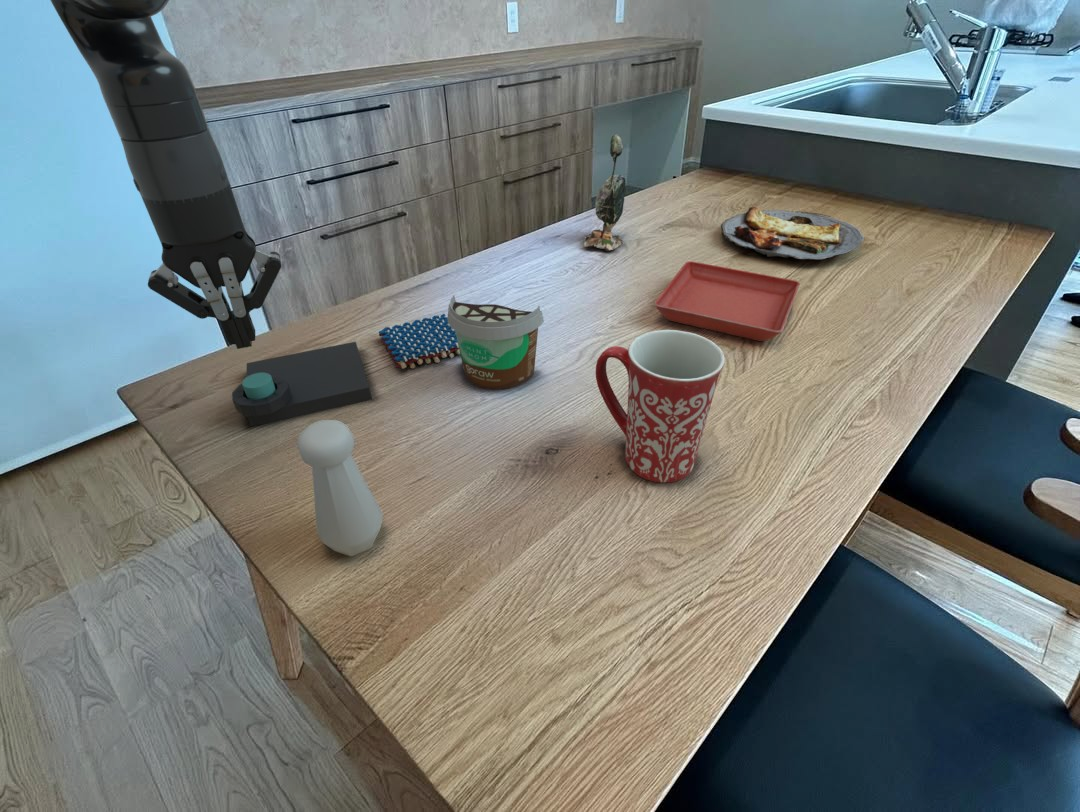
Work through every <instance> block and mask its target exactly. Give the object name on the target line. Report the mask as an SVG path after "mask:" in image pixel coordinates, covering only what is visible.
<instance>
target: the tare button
mask: <svg viewBox="0 0 1080 812" xmlns="http://www.w3.org/2000/svg"><path fill="white" fill-rule="evenodd" d="M241 384H242V386H243V388H244V391H245V393H246V396H247V398H249V399H254V400H257V399H262V398H266V397H268V396H270V395H272V394H273V393H274V392H275V386H274V383H273V380H272V377H271V375H270V374H268V373H256V374H252V375H250V376H248V377H247V376H246V377H244V379H243V380H242V382H241Z"/></svg>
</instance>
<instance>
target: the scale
mask: <svg viewBox="0 0 1080 812" xmlns="http://www.w3.org/2000/svg"><path fill="white" fill-rule="evenodd" d="M256 373H268V374H270V375H271V377H272V380H273V383H274V386H275V392H274V393H273V394H272V395H270V396H268V397H266V398H262V399H257V400H254V399H249V398H247V396H246V393H245V391H244V388H243V386H242V383H240V384H239V385H238V386H237V387H236V388H235V389H234V390H233V391H232V395H231V401H232V403H233V405H234V408H235V410H236V412H238V413H239V414H241V415H242V416H244V417H247V419H248V422H249V425H250V427H257V426H261V425H265V424H271V423H275V422H280V421H284V420H288V419H292V418H296V417H301V416H306V415H310V414H315V413H318V412H319V413H320V412H322V411H327V410H332V409H336V408H340V407H345V406H348V405H353V404H358V403H362V402H366V401H371V400H372V399H373V398H372V397H373V396H372V393H371V388H370V384H369V381H368V377H367V375H366V374H367V373H366V371H365V368H364V365H363V361H362V357H361V354H360V350H359V347H358V344H357V342H356V341H351V342H347V343H342V344H337V345H332V346H327V347H321V348H317V349H311V350H306V351H302V352H296V353H291V354H286V355H281V356H277V357H271V358H265V359H261V360H256V361H251V362H246V377H248V376H250V375H252V374H256Z"/></svg>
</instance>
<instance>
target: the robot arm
mask: <svg viewBox="0 0 1080 812" xmlns="http://www.w3.org/2000/svg"><path fill="white" fill-rule="evenodd" d="M169 1H170V0H50V2H51V4H52V6H53V8H54V10H55V11H56V13H57V15H58V17H59V19H60V21H61V23H62V24H63V26H64V28H65V29H66V31H67V32H68V35H69V36H70V38H71V39H72V42H73V44H75V46H76V48H77V50H78V51H79V53H80V55H81V56H82V57H83V59H84V61H85V62H86V64H87V65H88V67H89V68H90V71H91V72H92V73H93V75H94V77H95V79H96V81H97V83H98V86H99V89H100V92H101V96H102V97H103V98H102V99H103V101H104V103H105V105H106V107H107V110H108V113H109V115H110V117H111V120H112V122H113V124H114V126H115V128H116V131H117V134H118V136H119V139H120V142H121V144H122V147H123V151H124V154H125V155H124V156H125V158H126V163H127V165H128V168H129V171H130V174H131V176H132V181H133V183H134V186H135V188H136V190H137V192H138V193H139V195H140V197H141V200H142V201H143V204H144V206H145V209H146V211H147V214H148V216H149V219H150V220H151V223H152V225H153V227H154V231H155V232H156V235H157V237H158V239H159V242H160V244H161V247H162V251H161V252H162V253H161V262H162V263H161V265H159V267H158V268H157V269H153V270H152V271H151V272H150V275H149V276H148V280H147V286H148V288H149V290H152V291H153V292H154V293H157V294H158V295H160V296H161V297H163V298H165V299H167V300H168V301H170V302H172V303H174V304H175V305H176V306H178V307H180V308H181V309H183V310H185V311H186V312H188V313H190V314H191V315H193V316H195V317H196V318H198V319H202V320H203V319H204V320H205V319H207V318H213V319H216V320H218V322H219V324H220V325H221V328H222V331H223V334H224V335H225V338H226V342H227V343H229V345H230V346H234V345H235V347H236V349H237V350H239V349H246V348H250V347H251V348H252V346H253V342H254V341H256V328H255V326H254V323H253V319H252V317H251V314H250V312H251V311H253V310H255V309H256V310H257V309H260V308H262V306H263V305H264V302H265V301H266V299H267V296H268V294H269V293H270V291H271V288H272V287H273V284H274V283H275V281H276V279H277V277H278V275H279V273H280V270H281V269H282V261H281V255H280V254H279V253H278V252H277V251H270V252H269V251H266V250H264V249H261V248H260V247H257V246H256V245H257V244H256V242H255V240H254V239H253V238H252V237H251V236H250V235H249V233H247V231H246V229H245V226H244V222H243V219H242V217H241V214H240V210H239V207H238V204H237V202H236V198H235V195H234V193H233V189H232V186H231V183H230V180H229V177H228V173H227V171H226V169H225V165H224V161H223V158H222V156H221V153H220V151H219V149H218V147H217V145H216V142H215V140H214V138H213V136H212V133H211V131H210V129H209V127H208V123H207V119H206V116H205V113H204V110H203V108H202V107H203V106H202V104H201V101H200V99H199V96H198V92H197V89H196V87H195V84H194V81H193V79H192V77H191V75H190V72H189V71H188V69H187V67H186V66H185V64H184V63H183V62H182V61H181V60H180V59H179V58H177V56H175V55H173V54H172V52H170V51H169V50H168V49H167V48H166V47H165V44H164V42H163V41H162V38H161V36H160V34H159V32H158V29H157V27H156V25H155V23H154V20H153V19H152V17H153V16H155V15H157V14H159V13H161V11H163V10H164V9H165V7H166V6H167V5H168V3H169ZM254 260H255V261H256V263H255V265H256V266H255V267H256V270H257V271H258V275H257V277H256V279H255V280H254V283H253V285H252V287H251V288H250V291H249V293H246V294H245V293H244V289H243V285H242V282H244V280H245V279H246V277H247V274H248V272H249V270H250V267H251V265H252V263H253V261H254ZM179 277H180V278H182V279H183V280H185V281H187V282H188V283H189V284H191V285H192V286H193V287H196V288H198V289H200V290H201V291H202V293H203V295H204V296H201V295H200V294H199V293H197V292H195V291H193V290H192V289H191V288H189V287H187V286H186V285H184V284H183V283H181V282H180V279H179ZM223 287H225V290H226V293H227V297H228V299H229V301H228V299H227V297H226V295H225V293H224V290H223ZM229 302H230V303H229ZM230 305H231V306H230ZM231 309H232V310H231Z"/></svg>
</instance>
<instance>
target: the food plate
mask: <svg viewBox="0 0 1080 812" xmlns="http://www.w3.org/2000/svg"><path fill="white" fill-rule="evenodd" d="M720 229H721V235H723V237H724V238H726V239H725V241H728V242H730V243H731V242H734V244H735V245H736V246H738V247H744V248H749V249H752V250H754V251H755V252H757V253H759V254H762V255H766V257H780V258H790V257H792V258H794V259H797V260H826V259H827V258H833V257H834V256H837V255H843V254H847V253H849V252H851V251H853V250H855V249H857V248H858V247H859V246H860V245H861V244H862V243H863V241H864V240H865V236H864V235H863V234H862V232H861V230H859V228H858V227H856V226H854V224H851V223H849V222H847V221H844V220H839V219H838V218H834V217H832V216H830V215H827V214H823V213H817V212H809V211H799V210H787V209H766V210H761V209H760V208H759V207H757V206H750V207H749V208H748V210H747V211H746V212H744V213H740V214H739V213H738V214H736V215H734V216H730V217H729V218H727V219H725V220H724V221H723V222H722V223H721V225H720Z"/></svg>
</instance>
